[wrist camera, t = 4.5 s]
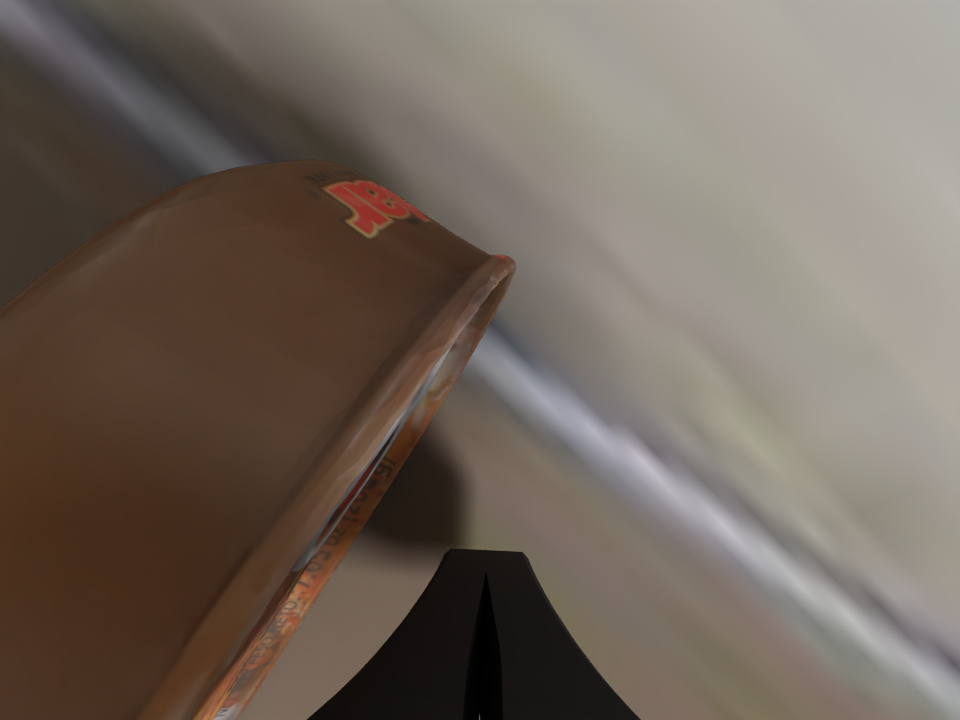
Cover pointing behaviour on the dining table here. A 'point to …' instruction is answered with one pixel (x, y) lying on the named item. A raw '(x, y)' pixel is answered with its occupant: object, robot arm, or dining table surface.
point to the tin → (213, 430)
